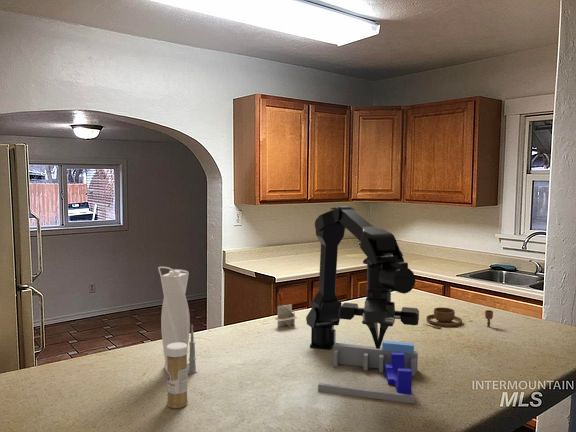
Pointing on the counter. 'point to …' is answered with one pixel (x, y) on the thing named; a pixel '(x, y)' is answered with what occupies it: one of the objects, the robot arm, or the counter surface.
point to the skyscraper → (176, 314)
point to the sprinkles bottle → (177, 374)
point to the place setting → (450, 317)
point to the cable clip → (399, 374)
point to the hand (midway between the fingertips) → (378, 348)
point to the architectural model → (285, 315)
